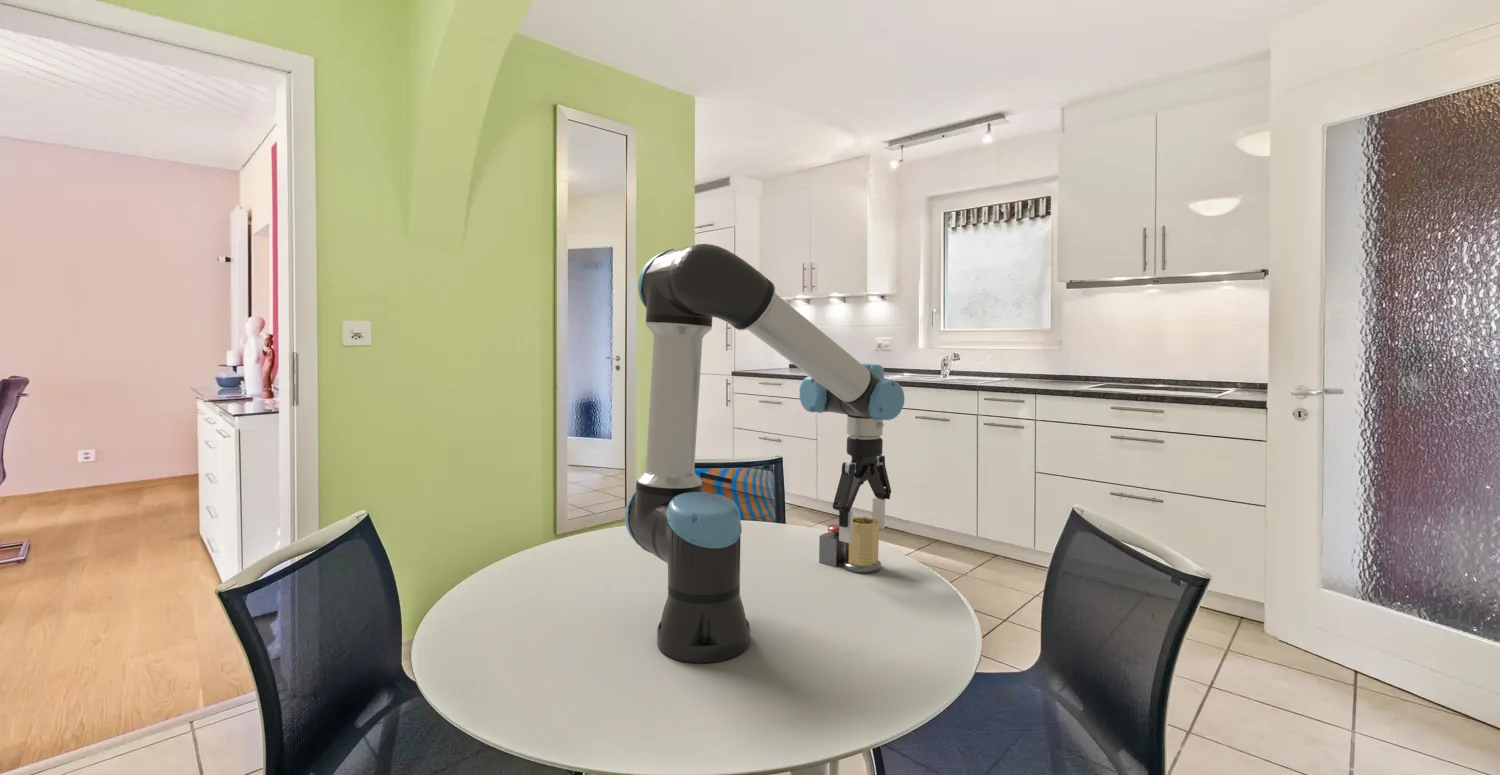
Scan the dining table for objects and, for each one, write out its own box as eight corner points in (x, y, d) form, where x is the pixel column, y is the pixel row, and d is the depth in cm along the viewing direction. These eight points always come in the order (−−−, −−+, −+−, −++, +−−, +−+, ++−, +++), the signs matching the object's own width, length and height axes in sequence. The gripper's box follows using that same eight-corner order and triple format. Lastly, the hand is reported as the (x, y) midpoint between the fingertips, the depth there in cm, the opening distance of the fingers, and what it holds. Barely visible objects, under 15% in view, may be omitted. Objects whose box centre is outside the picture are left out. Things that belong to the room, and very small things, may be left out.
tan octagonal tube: (867, 569, 142) (868, 526, 142) (841, 562, 147) (841, 521, 146) (882, 561, 147) (883, 520, 147) (856, 555, 151) (857, 515, 151)
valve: (868, 576, 141) (869, 537, 141) (817, 562, 150) (818, 526, 149) (887, 566, 148) (888, 529, 147) (837, 554, 156) (838, 518, 155)
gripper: (848, 445, 133) (846, 552, 135) (908, 432, 152) (905, 525, 154) (816, 441, 138) (814, 544, 139) (878, 428, 157) (876, 519, 158)
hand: (862, 534), depth 146 cm, fingers open, 13 cm apart
